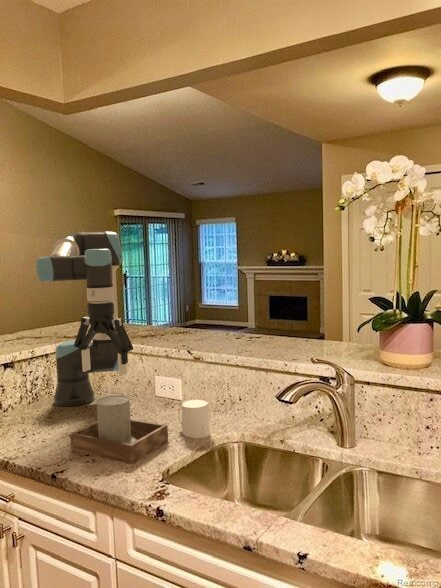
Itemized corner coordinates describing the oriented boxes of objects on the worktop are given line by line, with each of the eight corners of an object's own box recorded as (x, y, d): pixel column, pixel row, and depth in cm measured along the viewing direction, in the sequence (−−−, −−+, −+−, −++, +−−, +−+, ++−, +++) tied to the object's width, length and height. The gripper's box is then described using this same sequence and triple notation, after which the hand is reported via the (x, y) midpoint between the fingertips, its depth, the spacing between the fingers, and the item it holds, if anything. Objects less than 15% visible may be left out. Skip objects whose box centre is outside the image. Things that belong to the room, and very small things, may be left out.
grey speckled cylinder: (106, 450, 139) (104, 407, 138) (93, 440, 146) (91, 399, 145) (137, 441, 144) (135, 400, 143) (123, 432, 152) (121, 393, 151)
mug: (215, 403, 152) (196, 409, 146) (216, 433, 153) (197, 440, 147) (188, 396, 160) (169, 402, 154) (189, 424, 161) (170, 431, 155)
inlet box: (110, 431, 157) (109, 415, 157) (168, 441, 147) (167, 425, 146) (71, 450, 142) (70, 434, 142) (132, 464, 132) (131, 445, 131)
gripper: (59, 302, 147) (63, 371, 149) (127, 304, 136) (130, 380, 138) (77, 299, 154) (81, 365, 156) (143, 301, 142) (146, 373, 145)
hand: (104, 372), depth 147 cm, fingers open, 13 cm apart
